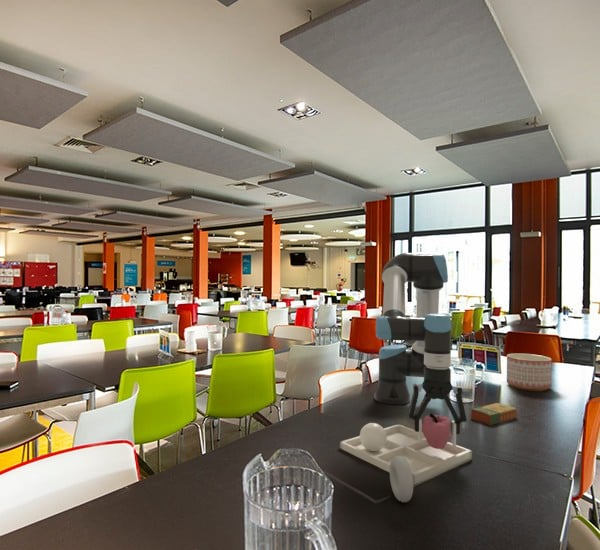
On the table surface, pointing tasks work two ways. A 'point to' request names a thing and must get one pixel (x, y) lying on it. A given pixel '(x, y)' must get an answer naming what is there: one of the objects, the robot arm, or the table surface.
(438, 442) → the apple
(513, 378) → the planter
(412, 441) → the tray
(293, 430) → the table surface
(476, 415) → the carton
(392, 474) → the white thick disc
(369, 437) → the white ball
